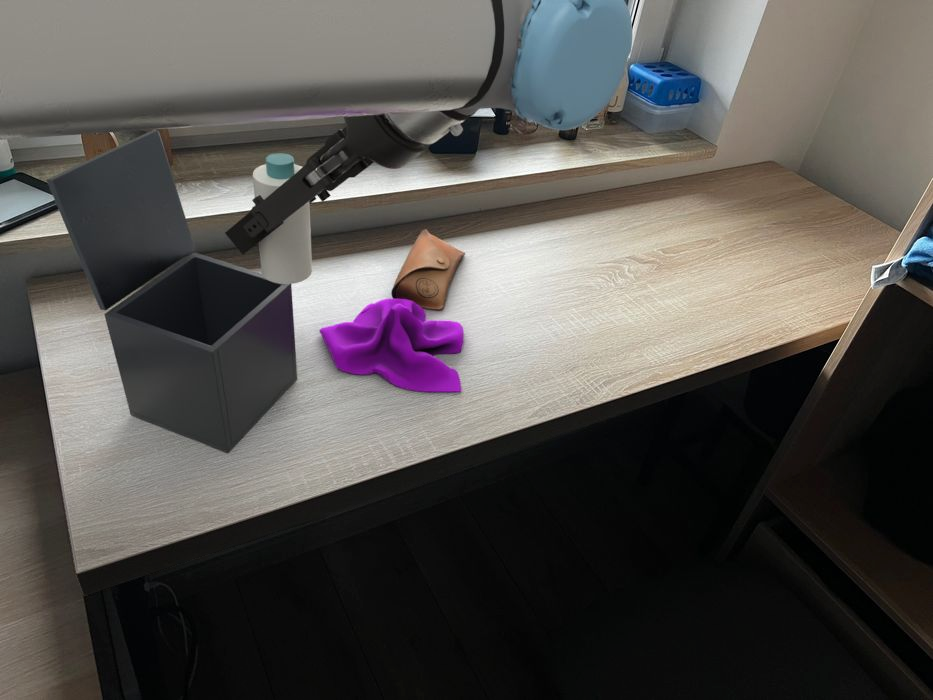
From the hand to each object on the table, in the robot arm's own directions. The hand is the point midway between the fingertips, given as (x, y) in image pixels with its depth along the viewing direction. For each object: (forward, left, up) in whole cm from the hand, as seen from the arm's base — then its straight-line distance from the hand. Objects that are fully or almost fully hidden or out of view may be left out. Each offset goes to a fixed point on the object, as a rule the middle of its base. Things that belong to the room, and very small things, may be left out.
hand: (253, 229), depth 75 cm
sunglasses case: (+36, -6, -24) cm, 44 cm away
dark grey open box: (-2, +6, -24) cm, 25 cm away
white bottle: (0, -4, -4) cm, 5 cm away
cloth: (+18, -10, -24) cm, 32 cm away
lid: (-2, +14, -2) cm, 14 cm away
